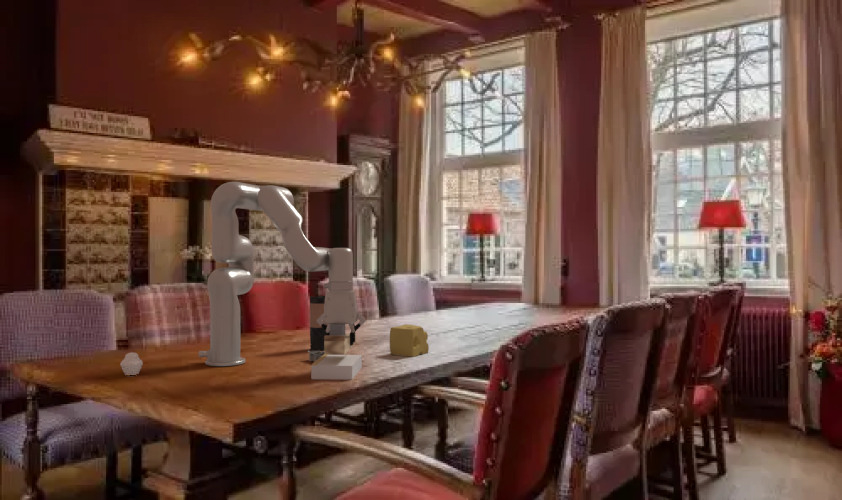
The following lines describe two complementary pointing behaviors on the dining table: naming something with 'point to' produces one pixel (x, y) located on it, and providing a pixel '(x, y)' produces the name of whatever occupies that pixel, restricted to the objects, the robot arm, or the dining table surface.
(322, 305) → the travel mug
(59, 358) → the dining table surface
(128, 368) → the grey faceted stone
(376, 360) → the dining table surface
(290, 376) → the dining table surface
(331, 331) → the blue-grey cube
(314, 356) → the egg carton
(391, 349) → the cheese
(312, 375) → the block
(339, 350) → the wooden block
